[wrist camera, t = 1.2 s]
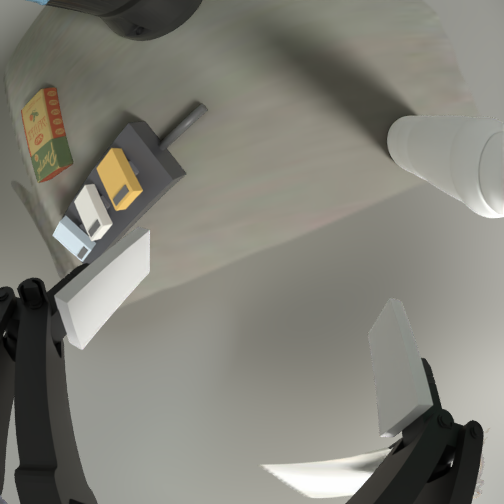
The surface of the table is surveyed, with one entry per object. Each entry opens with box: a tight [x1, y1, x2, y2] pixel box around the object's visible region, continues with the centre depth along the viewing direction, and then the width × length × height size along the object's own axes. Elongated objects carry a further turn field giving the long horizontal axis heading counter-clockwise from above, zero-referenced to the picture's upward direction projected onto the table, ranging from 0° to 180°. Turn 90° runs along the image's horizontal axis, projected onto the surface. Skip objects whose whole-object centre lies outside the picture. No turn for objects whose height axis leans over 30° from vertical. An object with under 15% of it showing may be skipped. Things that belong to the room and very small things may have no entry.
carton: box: [21, 88, 73, 183], centre depth 34 cm, size 8×16×4 cm, turn 15°
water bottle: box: [387, 115, 504, 218], centre depth 17 cm, size 7×7×25 cm
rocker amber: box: [96, 148, 143, 211], centre depth 31 cm, size 7×4×2 cm, turn 38°
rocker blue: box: [53, 216, 96, 262], centre depth 37 cm, size 7×4×2 cm, turn 38°
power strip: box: [62, 104, 208, 264], centre depth 35 cm, size 10×33×5 cm, turn 128°
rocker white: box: [74, 184, 113, 241], centre depth 34 cm, size 7×4×2 cm, turn 38°
